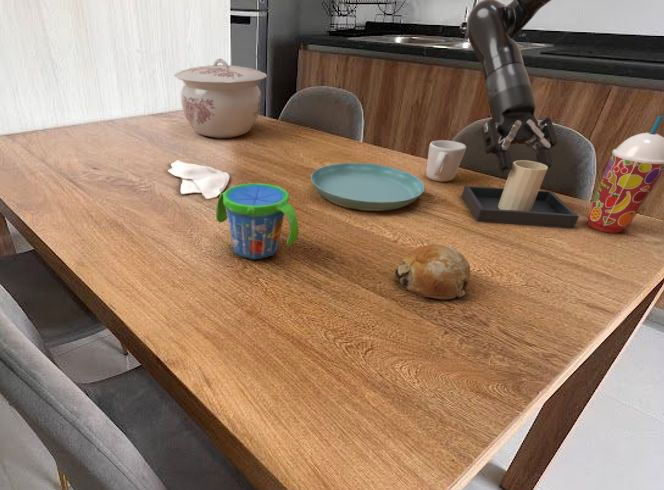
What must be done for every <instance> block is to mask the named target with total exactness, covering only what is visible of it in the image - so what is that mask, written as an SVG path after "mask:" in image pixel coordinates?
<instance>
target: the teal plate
mask: <svg viewBox="0 0 664 490" xmlns="http://www.w3.org/2000/svg"><path fill="white" fill-rule="evenodd" d="M310 180H311V183H312V185H313V187H314V189H315V190H316V192H317V193H318V194H319V195H320V196H321V197H323V198H324V199H326V200H327V201H329V202H330V203H333V204H335V205H337V206H339V207H340V206H341V207H343V208H347V209H352V210H356V211H364V212H365V211H366V212H386V211H393V210H398V209H401V208H403V207H406V206H408V205H410V204H412V203H413V202H415V201H416V200H417V199H419V198H420V197H421V196H422V194H423V193H424V192H425V184H424V182H423V181H422V180H421V179H420V178H419V177H417V176H415V175H413V174H412V173H409V172H407V171H404V170H401V169H398V168H394V167H390V166H387V165H381V164H374V163H366V162H342V163H334V164H329V165H325V166H321V167H318V168H317V169H315V170H314V171H313V172H312V173H311V175H310Z"/></svg>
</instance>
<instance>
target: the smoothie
mask: <svg viewBox="0 0 664 490" xmlns="http://www.w3.org/2000/svg"><path fill="white" fill-rule="evenodd" d="M663 119H664V116H663V115H658V117H657V119H656V121H655V122H654V124H653V126H652V128H651V130H650V132H643V133H637V134H635V135H632V136H630V137H628V138H627V139H625V140H623V141H622V142H621V143H620V144H619V145H618V146H617V147H616V148H614V149H612V153H611V155H610V157H609V160H608V162H607V165H606V167H605V170H604V173H603V175H602V178H601V180H600V183H599V185H598V187H597V190H596V192H595V195H594V198H593V199H592V202H591V204H590V208H589V210H588V212H587V215H586V218H587V223H586V224H587V225H588V226H589V227H590V228H592V229H594V230H596V231H599V232H604V233H609V234H618V233H621V232H623V231H624V229H625V228H628V227H630V225H631V223H632V222H633V220H634V219H635V217H636V216H637V214H638V212H639V211H640V209H641V208H642V206H643V205H644V203H645V201H647V199H648V197H649V195H650V193H651V192H652V190H653V189H654V187H655V186H656V184H657V182H658V181H659V179H660V178H661V176H662V175H663V174H664V136H663V135H660V134H659V133H656V132H657V130H658V128H659V127H660V125H661V123H662V120H663Z"/></svg>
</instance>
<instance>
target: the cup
mask: <svg viewBox="0 0 664 490" xmlns="http://www.w3.org/2000/svg"><path fill="white" fill-rule="evenodd" d="M466 150H467V146H466V144H464V143H462V142H459V141H455V140H445V139H443V140H442V139H441V140H440V139H439V140H433V141H431V142H430V144H429V146H428V155H427V162H426V170H425V175H426V177H427V178H428V179H430V180H432V181H434V182H439V183H445V182H450V181H453V180H454V179H455V178H456V175H457V173H458V170H459V168H460V165H461V163H462V160H463V157H464V155H465V152H466Z"/></svg>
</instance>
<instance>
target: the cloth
mask: <svg viewBox="0 0 664 490" xmlns="http://www.w3.org/2000/svg"><path fill="white" fill-rule="evenodd" d="M170 166H171V168H169V169H167V173H169V174H171V175H172V176H175V177H176V178H180V179H181V181H182V182H181V184H180V195H189V194H202V196H203V197H204V198H205V199H206V200H211V199H216V198H217V197H219V196H220V195H221V194H222V193H223V192H224V190H225V189H226V187H227V186H228V184H229V181H230V174H229V173H228V172H227V171H222V170H221V169H216V168H213V167H211V166H207V165H201V164H195V163H187V162H184V161H182V160H180V159H176V160H175V161H174V162H172V163H170Z"/></svg>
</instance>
